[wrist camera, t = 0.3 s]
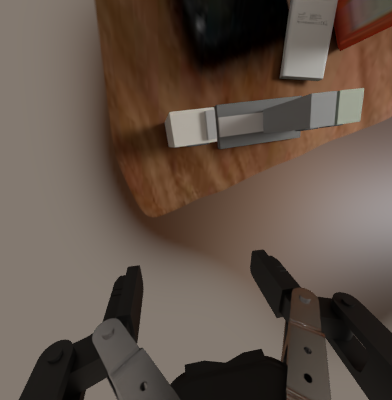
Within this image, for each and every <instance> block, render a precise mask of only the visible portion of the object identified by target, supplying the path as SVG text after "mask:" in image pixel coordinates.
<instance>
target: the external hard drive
mask: <svg viewBox="0 0 392 400" xmlns="http://www.w3.org/2000/svg"><path fill="white" fill-rule="evenodd" d="M337 3H338V0H291V1H290V8H289V15H288V22H287V29H286V36H285V43H284V50H283V57H282V64H281V71H280V79H294V80H310V81H319V80H322V79H323V75H324V70H325V65H326V60H327V55H328V50H329V44H330V39H331V34H332V29H333V24H334V18H335V13H336V8H337Z"/></svg>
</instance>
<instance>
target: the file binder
mask: <svg viewBox="0 0 392 400" xmlns="http://www.w3.org/2000/svg"><path fill="white" fill-rule="evenodd" d="M391 26H392V0H338V3H337V8H336V13H335V18H334V27H335V33H336V39H337V44H338V49H339V48H340V51H341V50H343V49H345V48H347V47H349V46H351V45H354V44H356V43H358V42H360V41H362V40H364V39H366V38H368V37H370V36H372V35H374V34H376V33H378V32H381V31H383V30H385V29H387V28H389V27H391Z"/></svg>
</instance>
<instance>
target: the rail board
mask: <svg viewBox="0 0 392 400" xmlns="http://www.w3.org/2000/svg"><path fill="white" fill-rule="evenodd" d="M363 95H364V88H359V89H350V90H341V91H332V92H322V93H313V94H309V95H306V96H303V97H302V96H295V97H286V98H277V99H267V100H258V101H249V102H240V103H231V104H222V105H216V106H214V109H215V119H216V130H217V141H218V149H224V148H231V147H238V146H245V145H251V144H258V143H265V142H271V141H278V140H285V139H291V138H298V137H300V131H303V130H311V129H318V127H319V128H323V127H332V126H339V125H343V124H346V123H353V122H360V119H361V111H362V103H363Z"/></svg>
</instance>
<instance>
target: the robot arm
mask: <svg viewBox="0 0 392 400" xmlns="http://www.w3.org/2000/svg"><path fill="white" fill-rule="evenodd" d="M250 269H251V274H252V276H253V278H254V280H255V282H256V283H257V285H258V287H259V288H260V290H261V292H262V294H263V295H264V297H265V298H266V300H267V302H268V304H269V306H270V307H271V309H272V311H273V312H274V314H275V316H276V317H277V318H280V317H284V319H285V320H286V321H285V327H284V338H283V348H282V356H281V361H279V360H277V359H275V358H272V357H268V356H264V354H263V351H262V349H258V350H253V351H249V352H244V353H242V354H240V355H238V356H237V357H235V358H233V359H232V360H230V361H228V362H226V363H222V362H212V361H201V362H196V363H191V364H187V365H185V373H183V374H181V375H180V376H178V377H177V378H176V379H175V380H174V381H173V382H172V383H171V384H169V383H168V381H167V380H166V379H165V377H164V376H163V374H162V373H161V372H160V370H159V369H158V368H157V366H156V365H155V363H154V362H153V361H152V359H151V358H150V356H149V355H148V354H147V353H146V351H145V350H144V349H143V348H141V349H140V348H139V347H138V345H137V340H138V332H139V324H140V315H141V307H142V298H143V280H142V274H141V269H140V266H131V267H128V268H127V273H126V275H124V276H120V277H119V278H118V279H117V280H116V282H115V283H114V287H113V291H112V293H111V297H110V300H109V303H108V306H107V309H106V313H105V316H104V319H103V322H102V323H101V324H100V325H99V326H98V327H97V328H96V329H95V331H94V333H93V334H91V335H90V336H88V337H86V338H84V339H82V340H80V341H78V342H76V343H73V344H72V342H71V341H69V340H60V341H57V342H55V343H54V344H52V345H51V346H49V347H48V348H47V349H46V350H45V351H44V352H43V353H42V354H41V356H40V357H39V359H38V361H37V363H36V365H35V367H34V369H33V371H32V373H31V376H30V377H29V380H28V382H27V384H26V386H25V388H24V390H23V392H22V394H21V396H20V398H19V400H84V396H85V391H86V389H88V388H89V387H91V386H93V385H95V384H96V383H98V382H100V381H101V380H103V379H105V378H107V380H108V382H109V384H110V386H111V388H112V390H113V392H114V394H115V396H116V398H117V400H331V392H330V383H329V382H330V381H329V371H328V362H327V361H328V360H327V350H326V340H325V338H326V339H327V340H328V342H329V343H330V344H331V346H332V347H333V349H334V350H335V352H336V353H337V355H338V356H339V357H340V359H341V360H342V362H343V363H344V364H345V366H346V367H347V369H348V370H349V372H350V373H351V375H352V376H353V377H354V379H355V380H356V382H357V383H358V385H359V386H360V387H361V389H362V390H363V392H364V393H365V394H366V396H367V397H368V399H369V400H392V333H391V332H390V331H389V330H388V329H387V328H386V327H385V326H384V325H383V324H382V323H381V322H380V321H379V320H378V319H377V318H376V317H375V316H374V315H373V314H372V313H371V312H370V311H369V310H368V309H367V308H366V307H365V306H364V305H363V304H361V303H360V302H359V301H358V300H357V299H356V298H354V297H353V296H351V295H349V294H346V293H341V292H338V293H335V294H334V295H333V297H332V299H331V298H323V297H317V296H316V295H315V294H314V293H313V292H311V291H309V290H307V289H305V288H301V287H300V286H299V284H298V283H297V282H296V281H295V280H294V279H293V277H292V276H291V275H290V274H289V273H288V271H286V269H285V268H284V267H283V266H282V264H281V263H280V262H279V261H278V260H277V259H275V258H274V257H273V256H268V255H267V253H266V252H265V251H264V250H255V251H252V256H251V265H250ZM354 335H355V336H356V337H357V338H358V339H357V338H356V337H355V336H354ZM360 342H361V343H362V344H363V345H362V344H361V343H360ZM365 348H366V349H365Z"/></svg>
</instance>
